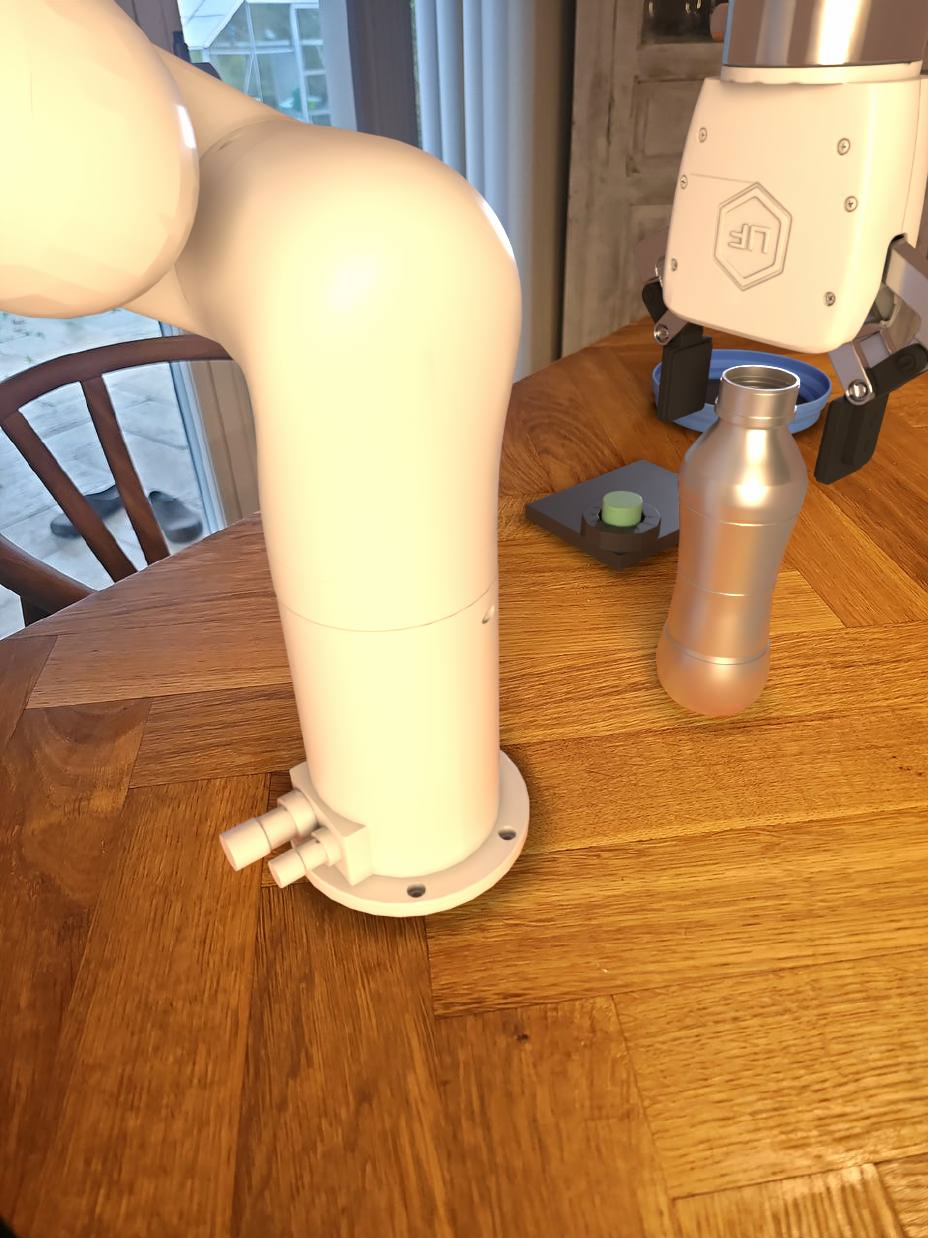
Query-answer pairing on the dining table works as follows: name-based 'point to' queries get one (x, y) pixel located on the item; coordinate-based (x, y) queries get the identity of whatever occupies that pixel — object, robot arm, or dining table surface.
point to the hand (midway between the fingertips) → (753, 442)
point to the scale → (617, 547)
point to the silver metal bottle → (732, 543)
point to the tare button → (622, 509)
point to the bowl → (811, 378)
